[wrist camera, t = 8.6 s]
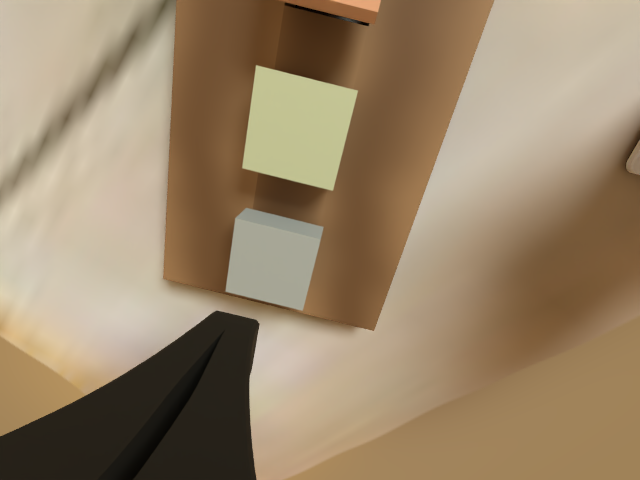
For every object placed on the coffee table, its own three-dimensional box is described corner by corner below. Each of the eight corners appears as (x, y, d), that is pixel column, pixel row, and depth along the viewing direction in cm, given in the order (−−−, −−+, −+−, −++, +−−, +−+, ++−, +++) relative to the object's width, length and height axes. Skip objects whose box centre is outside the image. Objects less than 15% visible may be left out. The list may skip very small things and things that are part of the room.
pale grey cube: (326, 214, 17) (320, 239, 14) (311, 275, 19) (302, 310, 16) (257, 197, 17) (235, 218, 14) (247, 259, 19) (225, 291, 16)
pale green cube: (356, 94, 15) (358, 90, 12) (336, 174, 17) (332, 190, 13) (277, 74, 15) (256, 65, 12) (264, 156, 17) (242, 168, 13)
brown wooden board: (595, -330, 10) (648, -425, 9) (371, 310, 20) (373, 330, 18) (228, -425, 10) (202, -541, 8) (180, 262, 20) (163, 278, 18)
